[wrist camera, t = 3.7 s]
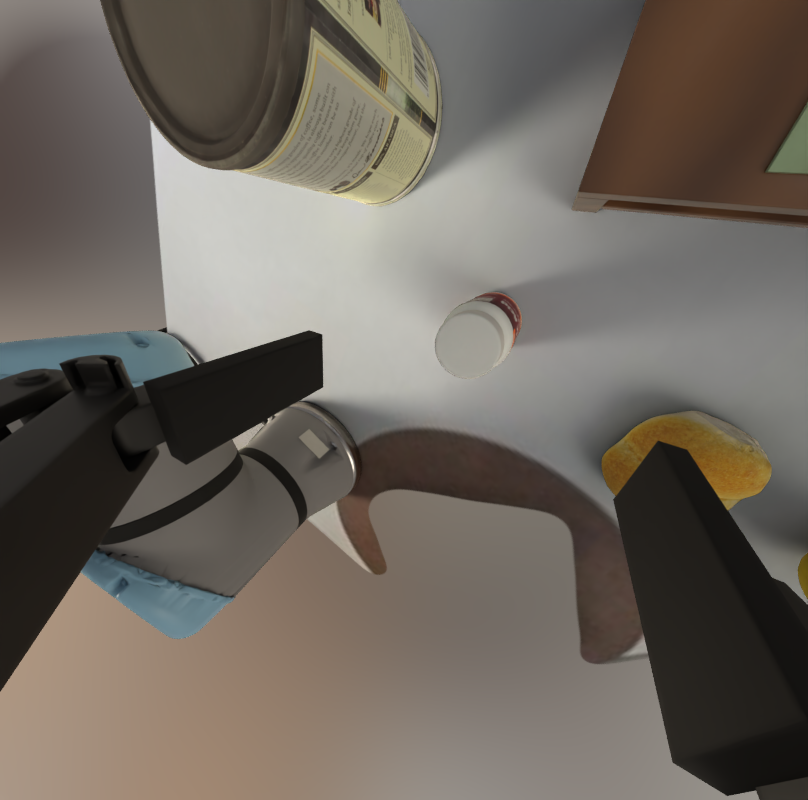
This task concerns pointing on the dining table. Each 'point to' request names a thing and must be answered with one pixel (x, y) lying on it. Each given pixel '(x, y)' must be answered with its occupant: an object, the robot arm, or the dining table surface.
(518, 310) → the pill bottle
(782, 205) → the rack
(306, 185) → the coffee can
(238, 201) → the dining table surface
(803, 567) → the lemon
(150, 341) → the robot arm
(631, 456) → the bread roll
